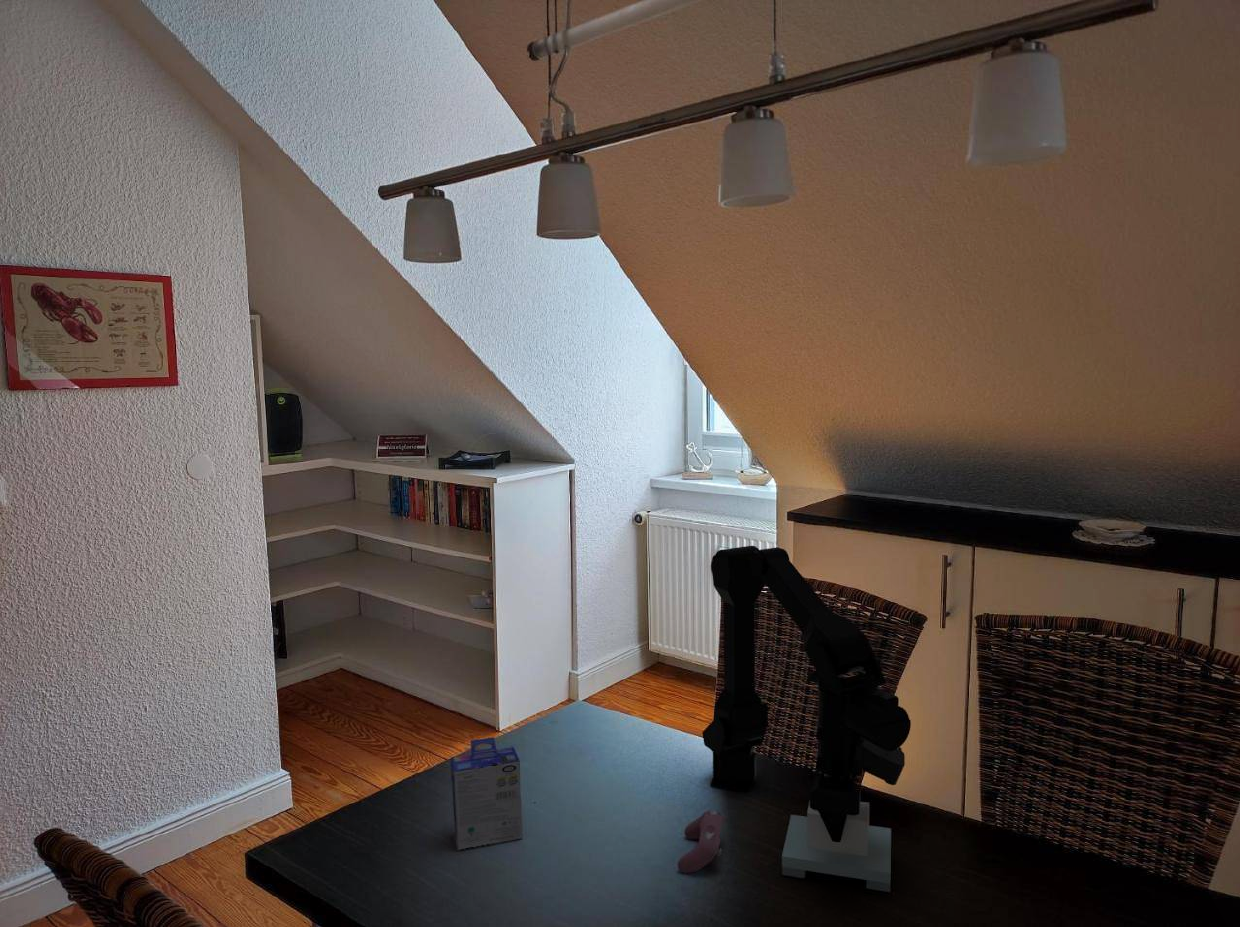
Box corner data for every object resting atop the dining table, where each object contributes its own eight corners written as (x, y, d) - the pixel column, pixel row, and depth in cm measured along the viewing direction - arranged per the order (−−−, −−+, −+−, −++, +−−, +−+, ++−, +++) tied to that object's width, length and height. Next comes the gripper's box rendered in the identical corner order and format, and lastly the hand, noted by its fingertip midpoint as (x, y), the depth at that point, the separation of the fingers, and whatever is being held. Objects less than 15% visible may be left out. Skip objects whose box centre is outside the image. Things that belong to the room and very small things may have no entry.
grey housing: (867, 856, 116) (868, 815, 116) (806, 847, 119) (807, 807, 118) (868, 836, 121) (869, 797, 120) (810, 828, 123) (810, 789, 123)
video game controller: (704, 887, 118) (727, 846, 116) (674, 871, 118) (697, 830, 117) (710, 847, 127) (731, 808, 126) (682, 831, 128) (703, 793, 126)
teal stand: (781, 876, 117) (781, 856, 117) (791, 833, 128) (791, 814, 127) (890, 894, 113) (890, 872, 113) (890, 848, 123) (891, 828, 123)
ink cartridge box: (517, 820, 133) (514, 730, 131) (524, 839, 128) (521, 746, 126) (452, 832, 130) (448, 740, 128) (457, 852, 125) (452, 756, 123)
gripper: (902, 758, 106) (899, 877, 108) (901, 700, 124) (898, 802, 126) (809, 748, 110) (808, 862, 112) (821, 692, 127) (820, 792, 129)
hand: (837, 828), depth 120 cm, fingers open, 6 cm apart
